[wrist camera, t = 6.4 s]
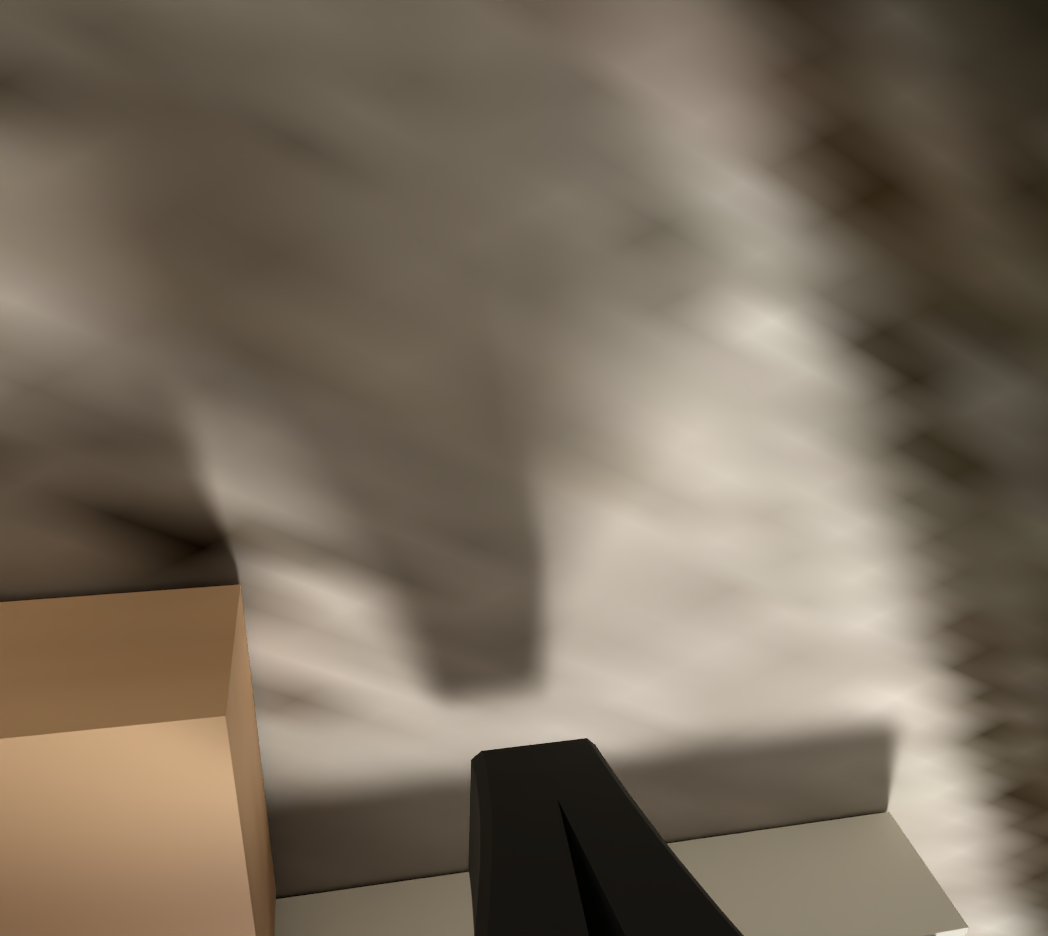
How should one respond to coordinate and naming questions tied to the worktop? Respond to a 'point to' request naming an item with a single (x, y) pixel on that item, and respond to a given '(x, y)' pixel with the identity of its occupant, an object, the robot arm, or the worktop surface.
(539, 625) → the worktop surface
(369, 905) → the board
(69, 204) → the worktop surface
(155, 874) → the tan flat block
